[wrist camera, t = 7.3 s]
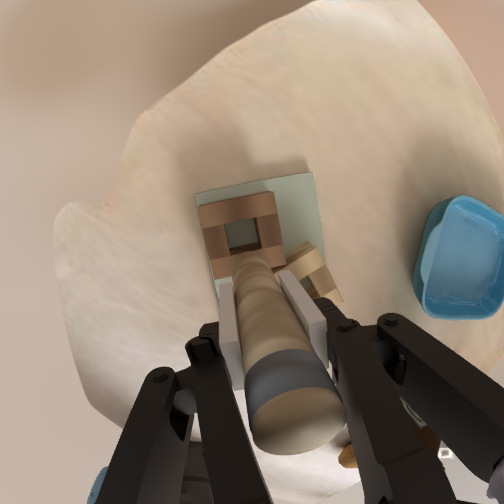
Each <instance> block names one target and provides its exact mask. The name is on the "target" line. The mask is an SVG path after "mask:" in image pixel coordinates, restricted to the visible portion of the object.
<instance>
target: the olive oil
mask: <svg viewBox="0 0 504 504" xmlns="http://www.w3.org/2000/svg"><path fill="white" fill-rule="evenodd" d="M397 394H398V393H397ZM398 396H399V398H400V399H401V401H402V403H403V405H404V408H405V410H406V412H407V414H408V416H409V418H410V420H411V422H412V424H413V426H414V428H415V430H416V432H417V435H418V437H419V439H420V441H421V443H422V445H423V446H424V447H431V448H432V449H434V451H435V452H436V454H437V455H438V452H439V448H440V444H441V439H440V438H439V437H438V436H437V435H436V434H435V433H434V432H433V431H432V429H431V428H430V427H429V426H428V425H427V424H426V423H425V422H424V421H423V420H422V419H421V418H420V417H419V416H418V415H417V413H416V412H415V411H414V410H413V409H412V408H411V407H410V406H409V405H408V404H407V403H406V402H405V401H404V400H403V399H402V398H401V397H400V395H399V394H398ZM440 462H441V461H440ZM441 464H442V463H441ZM442 465H443V464H442ZM443 469H444V471H445V468H444V467H443Z"/></svg>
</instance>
